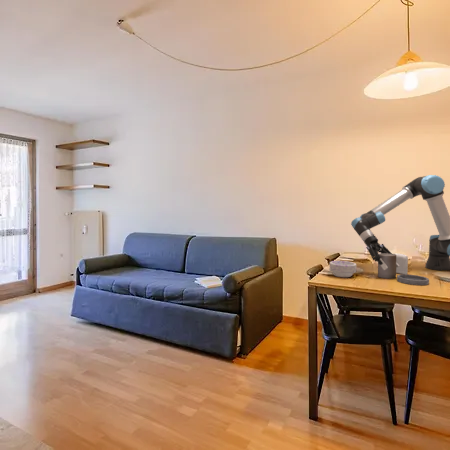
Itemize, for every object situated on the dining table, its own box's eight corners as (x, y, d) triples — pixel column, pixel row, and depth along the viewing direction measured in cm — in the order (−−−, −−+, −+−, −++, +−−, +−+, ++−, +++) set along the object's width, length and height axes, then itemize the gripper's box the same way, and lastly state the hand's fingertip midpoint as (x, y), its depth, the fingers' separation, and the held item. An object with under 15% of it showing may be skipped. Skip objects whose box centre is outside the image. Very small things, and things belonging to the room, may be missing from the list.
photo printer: (388, 272, 199) (389, 253, 199) (391, 271, 202) (392, 252, 201) (405, 274, 192) (406, 255, 191) (408, 273, 194) (409, 254, 193)
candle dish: (416, 278, 181) (416, 274, 181) (435, 285, 167) (435, 280, 166) (391, 278, 181) (391, 274, 181) (407, 285, 166) (408, 280, 166)
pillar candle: (393, 275, 189) (393, 251, 188) (398, 279, 179) (398, 253, 179) (375, 275, 191) (376, 250, 190) (379, 278, 182) (380, 253, 181)
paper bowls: (338, 279, 179) (338, 265, 179) (324, 273, 194) (324, 261, 194) (361, 278, 182) (362, 264, 182) (346, 272, 197) (346, 260, 197)
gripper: (376, 241, 203) (399, 270, 190) (353, 243, 193) (375, 273, 180) (384, 234, 198) (408, 262, 185) (360, 235, 188) (383, 266, 175)
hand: (391, 268), depth 182 cm, fingers closed on pillar candle, 9 cm apart
